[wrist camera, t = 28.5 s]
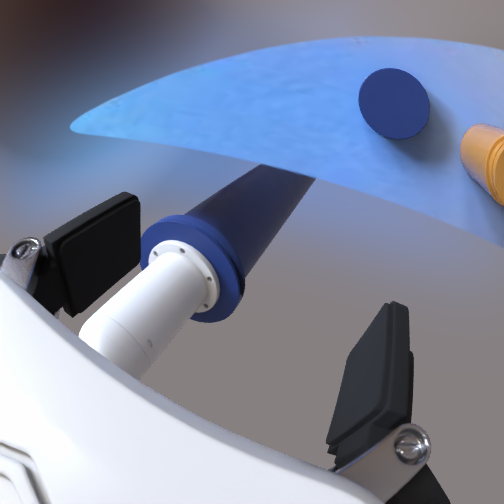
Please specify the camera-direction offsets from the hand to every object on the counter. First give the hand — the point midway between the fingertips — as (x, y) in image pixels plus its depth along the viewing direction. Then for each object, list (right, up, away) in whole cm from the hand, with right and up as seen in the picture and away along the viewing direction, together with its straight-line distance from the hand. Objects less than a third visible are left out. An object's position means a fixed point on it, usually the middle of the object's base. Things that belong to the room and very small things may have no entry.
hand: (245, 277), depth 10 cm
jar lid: (+13, +14, +12) cm, 23 cm away
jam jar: (+23, +11, +11) cm, 28 cm away
